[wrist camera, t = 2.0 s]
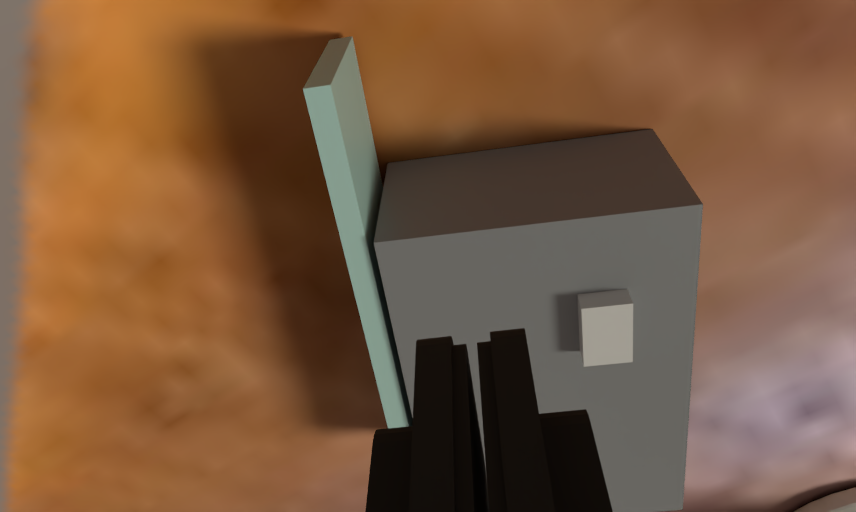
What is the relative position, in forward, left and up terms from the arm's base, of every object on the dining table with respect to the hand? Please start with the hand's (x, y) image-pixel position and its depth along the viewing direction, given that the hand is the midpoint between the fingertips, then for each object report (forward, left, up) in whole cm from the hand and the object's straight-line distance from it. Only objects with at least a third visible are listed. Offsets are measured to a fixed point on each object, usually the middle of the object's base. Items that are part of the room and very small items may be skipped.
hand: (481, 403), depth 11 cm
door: (-8, +4, -16) cm, 18 cm away
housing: (-10, -2, -16) cm, 19 cm away
